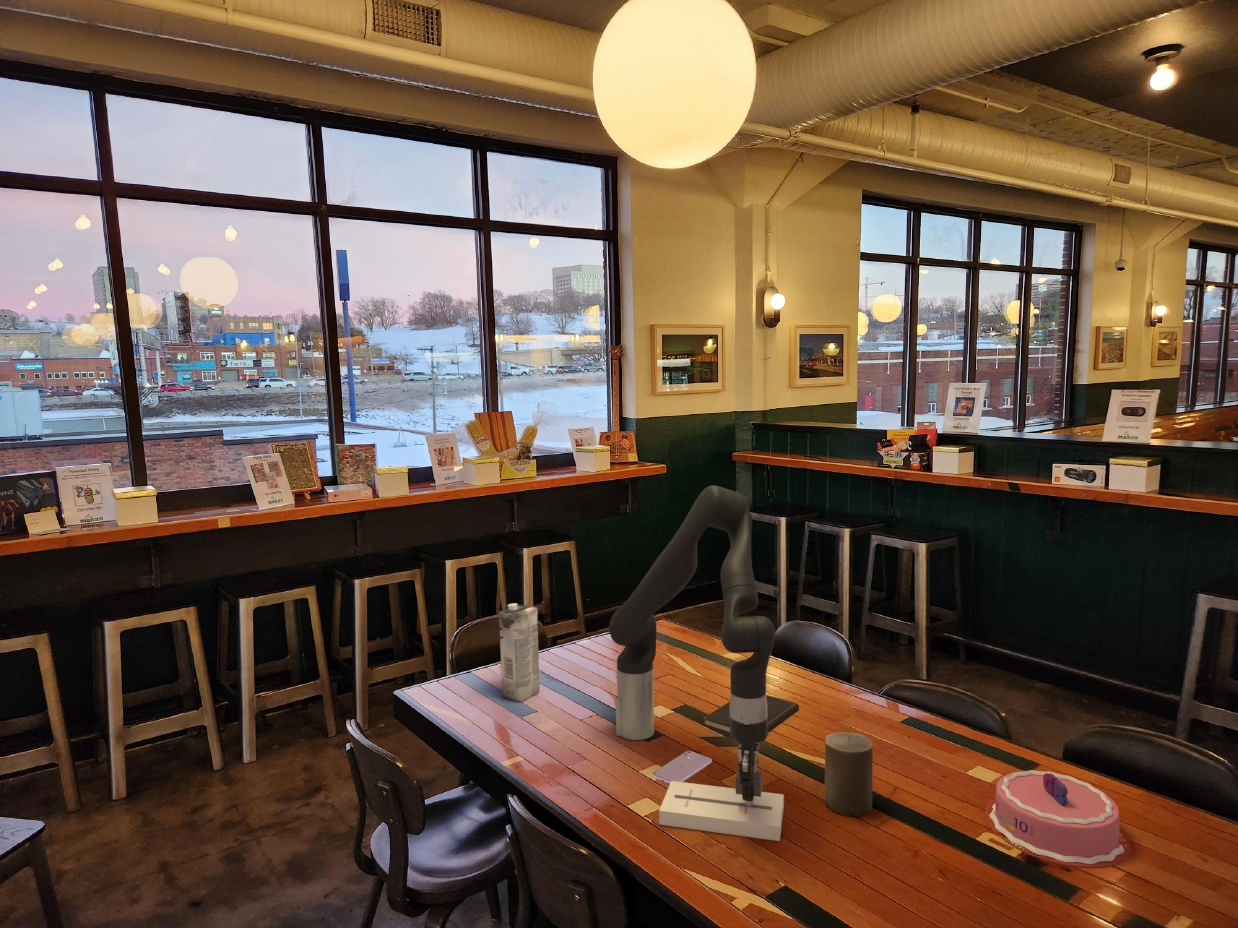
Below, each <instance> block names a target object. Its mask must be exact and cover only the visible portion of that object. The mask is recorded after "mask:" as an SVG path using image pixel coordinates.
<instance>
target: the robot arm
mask: <svg viewBox="0 0 1238 928" xmlns="http://www.w3.org/2000/svg"><path fill="white" fill-rule="evenodd" d="M710 527H712V528H715V529H718V530H721V531H723V532H726V533H727V535H728V538H729V542H730V546H729V547H730V548H729V550H728V553H727V555H725V558H724V561H723V562H722V564H721V568H720V573H719V574H720V585H721V591H722V592H721V593H722V597H723V604H724V605H723V606H724V609H723V610H724V611H723V612H724V613H723V621H722V627H721V632H720V636H721V637H720V639H721V644H722V646H723V647H724V649H725V650H726V651H727V652H730V654H743V653H744V654H745V653H747V654H748V653H752V654H751V656H750V657H747V658H745V659H742V660H738V661H736V662H735V663H733V664H732V665H731V668H730V696H729V697H730V698H729V702H730V732H729V735H730V737H731V739H732V740H734V741H736V742H738V743H739V746H738V747H737V756H738V763H737V764H738V765H737V766H738V770H739V776H740V785H742V799H743V800H744V801H753V799H754V782H755V780H754V773H755V772H758V769H757V768H758V766H757V765H758V763H759V759H760V757H759V752H760V743H762V742H765V740H766V739H767V738H768V733H769V732H768V733H767V698H766V695H767V669H768V665H769V661H770V658H771V654H772V651H773V648H774V643H775V638H776V629H775V625H774V623H773V622H772V621H771V619H770V618H769V617H767V616H763V615H754V616H740V615H742V614H746V613H749V612H752V611H753V610H755V609H756V608H757V607H758V604H759V594H758V589H757V584H756V580H755V576H754V570H753V564H752V563H753V562H752V543H751V542H752V536H751V535H752V534H751V511H750V504H749V502H748V499H747V497H745V495H743V494H741V493H739V492H737V491H734V490H731V489H728V488H725V487H722V486H719V485H709V486H707V487H705V488H704V489H703V490H702V492H700V494H699V495H698V497H697V498H696V500H695V501H694V503H693V505H692V507H691V508H690V509H689V512H688V513H687V515H686V516H685V518H684V520H683V522H682V524H681V525H680V527H679V529H678V530H677V531H676V532H675V534H674V536H673V537H672V539H671V540H670V541H669V542H668V544H667V546H665V548H664V549H663V550H662V552H661V553H660V554H659V555H658V557H657V558H656V560H655V561H654V562H653V564H652V565H651V567H650V569H649V570H648V571H647V573H646V574H645V576H644V577H643V578H642V580H641V581H640V582H639V584H638V586H637V587H636V588H635V590H634V591H633V592H632V593H631V594H630V596H629V598H627V600H625V601H624V603H623V604H622V605H621V606H620V607H619V608H618V609H617V610H616V611H615V612H614V613H613V614H612V616H611V618H610V620H609V625H608V628H609V635H610V637H611V640H612V641H613V642H614V643H615V644H617V645H619V646H621V647H624V648H623V650H622V651H621V652H620V654H619V655H618V656H617V659H616V675H617V676H616V678H617V679H616V681H617V683H616V685H617V696H616V698H615V700H614V701H615V732H616V733H615V735H616V736H618V737H621V738H623V739H626V740H631V741H642V740H646V739H649V738H651V737H652V736H653V735H654V734H655V705H654V704H655V703H654V701H655V700H654V699H655V698H654V695H655V693H654V661H655V658H656V653H657V621H656V616H655V613H656V612H657V611H658V610H660V609H661V608H662V607H664V606H665V605H666V604H667V603H668V602H670V601H671V600H672V599H674V598H675V597H676V596H677V595H678V594H679V593H680V592H681V591H682V590H683V589H684V588H685V587H686V586H687V584H688V583H689V582H690V580H691V579H692V578H693V576H694V575H695V573H696V571H697V569H698V541H699V540H700V537H701V536H702V535H703V533H704V532H705V530H706V529H707V528H710Z"/></svg>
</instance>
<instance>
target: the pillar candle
mask: <svg viewBox="0 0 1238 928" xmlns="http://www.w3.org/2000/svg"><path fill="white" fill-rule="evenodd" d="M824 743H825V745H824V747H825V748H824V803H825V805H826V806H827V807H828V808H829V809H830V810H831V811H833V812H835V813H837V814H840V815H843V816H849V817H850V816H851V817H860V816H861V817H862V816H865V815H867V814H869V813H870V812H871V811H872V809H873V772H874V771H873V768H874V767H873V761H874V759H873V754H874V753H873V751H874V749H873V748H874V747H873V746H874V745H873V742H872V741H871V740H870V739H869V738H867V737H866V736H864V735H863V734H859V733H855V732H848V731H847V732H846V731H845V732H843V731H840V732H833V733H829V734H827V735H826V736H825V739H824Z"/></svg>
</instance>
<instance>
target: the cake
mask: <svg viewBox="0 0 1238 928" xmlns="http://www.w3.org/2000/svg"><path fill="white" fill-rule="evenodd" d="M995 786H996V787H995V798H994V799H993V800H990V801H989V803H988V804H987V805H986V806H985V809H984V813H985V816H984V820H985V819H986V820H985V822H987V823H986V824H987V826H988V828H989V829H990V830H991V829H992V830H991V831H992V832H993V833H994V832H995V833H994V834H995V835H996V834H997V835H996V836H997V837H998V836H999V837H1001V840H1002V839H1003V840H1005V839H1004V838H1003V837H1002V836H1001V835H999V834H998V833H997V830H998V831H999V832H1001V833H1003V834H1004V835H1005V836H1006V837H1007V838H1008V839H1009V840H1010V841H1011V842H1013V843H1014V844H1012V843H1010V842H1009V841H1007V840H1005V841H1006V842H1007V843H1008V844H1007V843H1006V842H1005V841H1004V842H1005V843H1006V844H1007V845H1009V844H1010V845H1009V846H1011V845H1012V846H1013V847H1012V846H1011V847H1012V848H1014V847H1015V848H1014V849H1016V850H1018V849H1019V850H1018V851H1019V852H1021V853H1024V854H1026V853H1027V854H1026V855H1029V856H1031V855H1032V856H1031V857H1034V858H1036V857H1037V858H1036V859H1039V858H1040V859H1039V860H1041V861H1045V862H1048V863H1052V864H1055V863H1056V865H1060V866H1064V867H1065V866H1066V867H1070V866H1071V867H1072V868H1079V869H1101V868H1109V867H1114V866H1117V865H1118V864H1121V863H1123V862H1125V861H1126V860H1127V859H1128V857H1129V856H1131V852H1132V846H1131V842H1130V838H1129V836H1128V835H1127V834H1126V832H1125V831H1124V830H1123V829H1122V827H1120V819H1121V818H1120V817H1121V816H1120V810H1119V807H1118V805H1117V804H1116V802H1115V801H1114V800H1113V799H1112V798H1111V797H1110V796H1108V795H1107V794H1106V793H1105V792H1103V791H1102V790H1100V789H1099V788H1097V787H1095V786H1094V785H1091V784H1090V783H1089V782H1085V781H1083V780H1081V779H1080V780H1079V779H1077V778H1075V777H1073V776H1070V775H1066V774H1061V773H1057V772H1053V771H1048V770H1047V771H1045V770H1043V771H1042V770H1041V771H1040V770H1034V769H1029V770H1025V771H1024V770H1023V771H1015V772H1014V771H1013V772H1012V773H1011V772H1010V773H1009V774H1005V775H1004V776H1002V777H1001V778H1000V779H998V781H997V783H996V785H995ZM994 803H995V804H994ZM991 805H993V806H992V808H993V810H992V812H991V813H990V815H989V816H990V817H988V815H987V814H988V813H989V811H988V810H990V809H989V807H990V808H991ZM989 818H991V819H992V820H989ZM990 821H993V822H990ZM991 823H994V824H995V828H996V829H997V830H995V829H994V828H993V826H994V825H991ZM1119 832H1120V833H1119ZM1119 834H1122V837H1123V838H1121V839H1125V840H1126V841H1119V840H1120V839H1119V836H1120V837H1121V835H1119ZM999 837H998V838H999ZM1003 840H1002V841H1003ZM1015 844H1017V845H1020V846H1021V847H1025V848H1026V849H1025V848H1024V850H1023V848H1019V847H1020V846H1015ZM1121 844H1122V845H1123V846H1122V845H1121ZM1125 844H1126V845H1127V846H1126V847H1127V848H1126V847H1125V846H1124V845H1125ZM1123 847H1124V848H1123ZM1025 850H1030V851H1025ZM1030 852H1032V853H1030ZM1033 853H1035V854H1036V855H1035V854H1033ZM1037 855H1039V856H1037ZM1041 855H1042V856H1041ZM1043 857H1044V858H1043ZM1046 857H1048V858H1054V859H1046ZM1072 863H1074V864H1072ZM1077 863H1079V864H1077ZM1082 863H1083V864H1082Z"/></svg>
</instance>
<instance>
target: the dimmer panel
mask: <svg viewBox="0 0 1238 928" xmlns="http://www.w3.org/2000/svg"><path fill="white" fill-rule="evenodd" d="M784 800H785V794H783V793H782V794H781V793H774V792H767V791H766V792H765V791H762V793H761V797H757V796H754V799H753V806H751V807H749V806H746V805H745V801H744V800H743V799H742V795H741V794H736V788H733V787H724V786H716V785H708V784H700V783H692V782H691V783H690V782H685V781H683V782H676V781H671V783H670V784H669V785H668V788H667V790H666V792H665V795H664V798H663V800H662V802H661V805H660V807H659V810H658V820H659V823H658V824H659V825H661V826H667V827H675V828H682V829H689V830H695V831H696V830H697V831H703V832H710V833H717V834H718V833H719V834H726V835H732V836H740V837H746V838H747V837H748V838H754V839H761V840H769V841H776V842H781V835H782V834H781V833H782V826H783V817H784V809H785V801H784Z"/></svg>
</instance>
